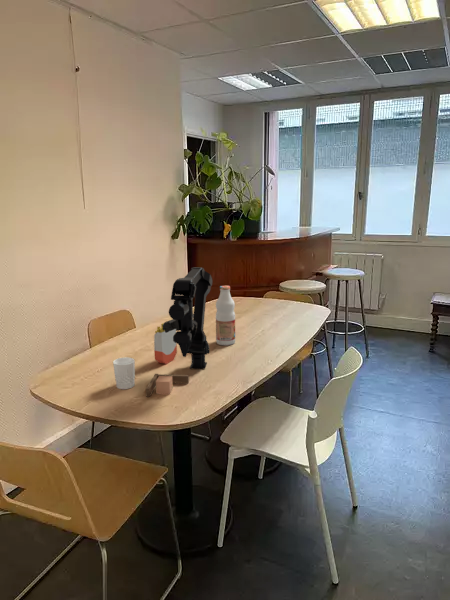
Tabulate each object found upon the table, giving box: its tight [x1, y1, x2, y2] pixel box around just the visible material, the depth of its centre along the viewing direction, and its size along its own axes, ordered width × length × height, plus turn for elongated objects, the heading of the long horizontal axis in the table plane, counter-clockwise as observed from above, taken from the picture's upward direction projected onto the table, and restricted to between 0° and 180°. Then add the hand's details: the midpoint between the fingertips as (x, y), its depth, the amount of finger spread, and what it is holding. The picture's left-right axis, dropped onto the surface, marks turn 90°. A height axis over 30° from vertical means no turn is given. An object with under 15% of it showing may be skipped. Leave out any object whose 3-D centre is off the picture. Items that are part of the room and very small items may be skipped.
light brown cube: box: [155, 376, 174, 395], centre depth 163 cm, size 5×5×5 cm
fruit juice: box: [215, 285, 236, 346], centre depth 213 cm, size 9×9×28 cm
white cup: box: [112, 356, 136, 390], centre depth 167 cm, size 8×8×10 cm
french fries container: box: [153, 322, 178, 365], centre depth 191 cm, size 5×11×18 cm, turn 153°
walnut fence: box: [145, 373, 190, 398], centre depth 165 cm, size 14×13×3 cm
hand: (186, 352), depth 168 cm, fingers open, 9 cm apart
